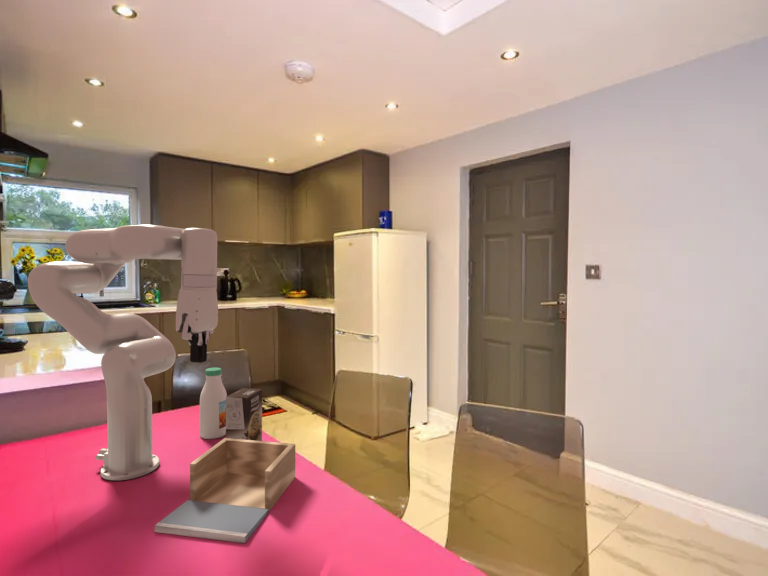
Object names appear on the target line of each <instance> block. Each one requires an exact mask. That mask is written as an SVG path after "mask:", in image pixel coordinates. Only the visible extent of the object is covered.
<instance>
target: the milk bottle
mask: <svg viewBox="0 0 768 576" xmlns="http://www.w3.org/2000/svg"><path fill="white" fill-rule="evenodd" d="M204 371H205V373H204V375H205V376H204V377H205V383H204V385H203V387H202V390H201V392H200V396H199V436H200V438H201V439H205V440H214V439H219V438H223V437H224V436H226V396H228V395H227V394H228V393H227V390H226V388H225V386H224V382H223V381H222V376H223V375H222V373H223V370H222V368H221V367H209V368H206V369H205V370H204Z"/></svg>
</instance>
